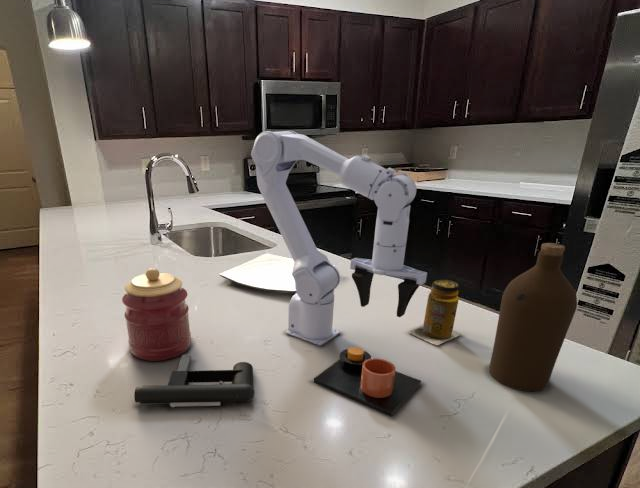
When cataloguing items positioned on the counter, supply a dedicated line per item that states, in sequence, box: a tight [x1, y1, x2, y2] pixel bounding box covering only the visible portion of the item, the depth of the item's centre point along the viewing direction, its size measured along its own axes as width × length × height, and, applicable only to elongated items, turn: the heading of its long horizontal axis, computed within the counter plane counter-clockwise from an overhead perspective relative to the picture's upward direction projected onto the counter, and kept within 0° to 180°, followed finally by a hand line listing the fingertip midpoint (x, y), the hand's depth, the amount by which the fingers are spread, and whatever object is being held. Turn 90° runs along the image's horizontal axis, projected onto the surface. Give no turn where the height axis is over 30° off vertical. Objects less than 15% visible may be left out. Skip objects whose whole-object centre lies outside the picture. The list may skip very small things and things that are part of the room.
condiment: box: [408, 279, 461, 346], centre depth 91 cm, size 7×8×12 cm
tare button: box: [347, 346, 365, 361], centre depth 80 cm, size 3×3×2 cm
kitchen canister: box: [121, 267, 192, 362], centre depth 86 cm, size 13×13×18 cm
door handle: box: [133, 353, 255, 408], centre depth 76 cm, size 3×20×16 cm
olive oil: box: [488, 242, 578, 392], centre depth 72 cm, size 11×11×25 cm
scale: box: [313, 348, 422, 417], centre depth 75 cm, size 15×12×2 cm
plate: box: [219, 253, 336, 294], centre depth 128 cm, size 29×29×3 cm
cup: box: [360, 357, 396, 398], centre depth 72 cm, size 5×5×4 cm
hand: (382, 310), depth 83 cm, fingers open, 7 cm apart
